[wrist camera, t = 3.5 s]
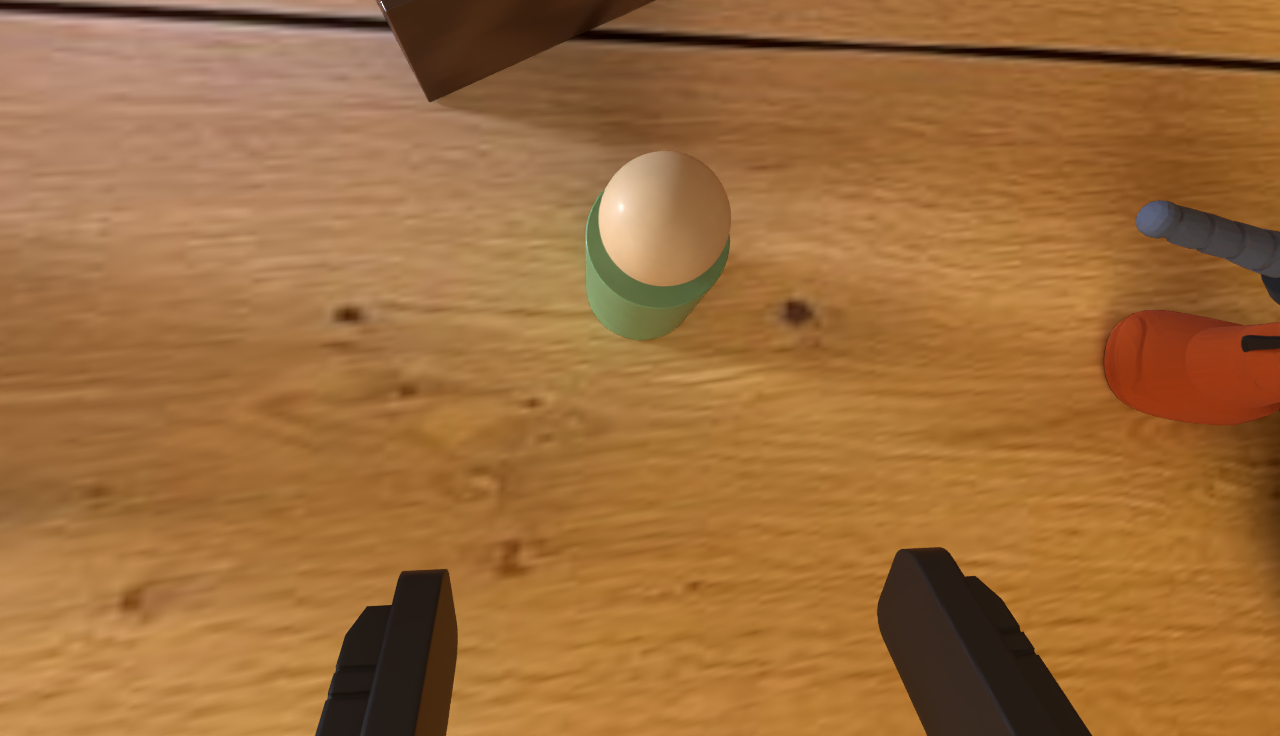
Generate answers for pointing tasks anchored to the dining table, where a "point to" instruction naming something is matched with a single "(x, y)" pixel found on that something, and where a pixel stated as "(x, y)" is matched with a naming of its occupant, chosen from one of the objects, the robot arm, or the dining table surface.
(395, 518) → the dining table surface
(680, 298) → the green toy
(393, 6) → the walnut block
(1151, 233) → the toy drill
